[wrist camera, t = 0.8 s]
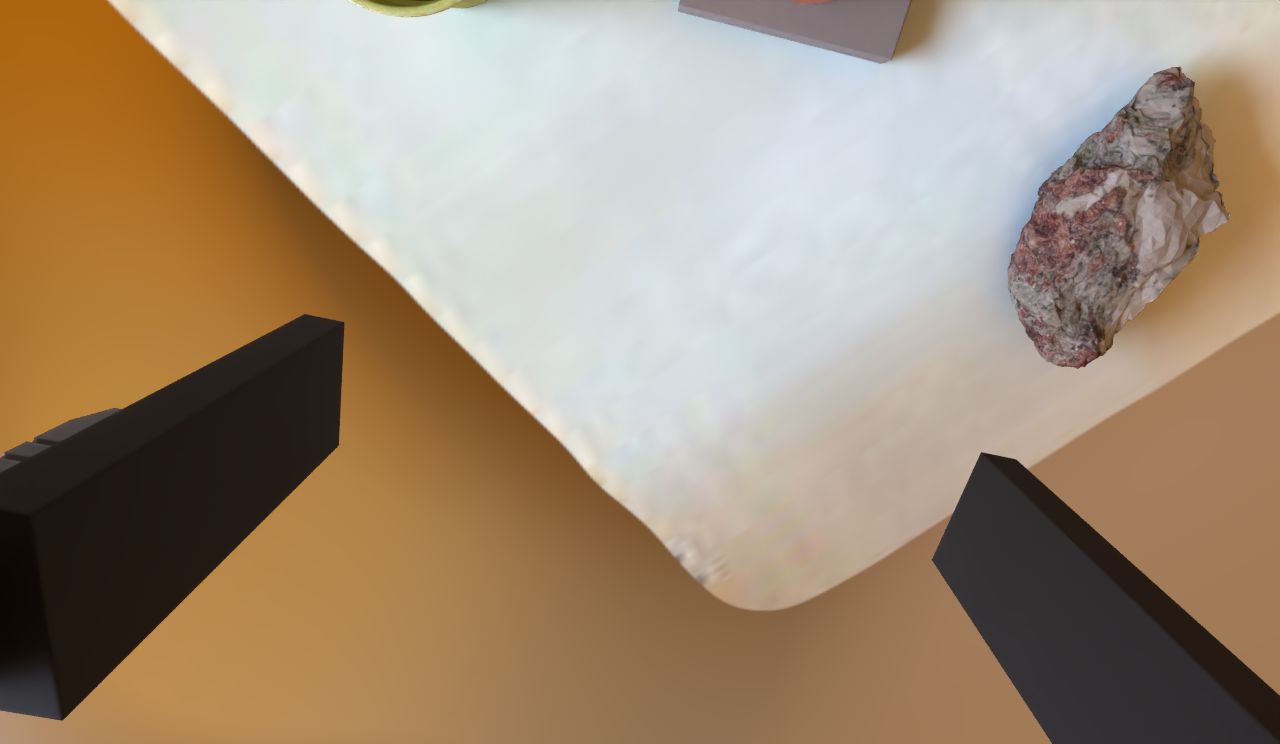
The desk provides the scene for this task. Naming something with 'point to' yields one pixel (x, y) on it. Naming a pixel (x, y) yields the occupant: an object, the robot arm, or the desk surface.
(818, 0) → the cup
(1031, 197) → the desk surface
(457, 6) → the plant pot
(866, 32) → the coffee maker
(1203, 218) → the mineral rock
